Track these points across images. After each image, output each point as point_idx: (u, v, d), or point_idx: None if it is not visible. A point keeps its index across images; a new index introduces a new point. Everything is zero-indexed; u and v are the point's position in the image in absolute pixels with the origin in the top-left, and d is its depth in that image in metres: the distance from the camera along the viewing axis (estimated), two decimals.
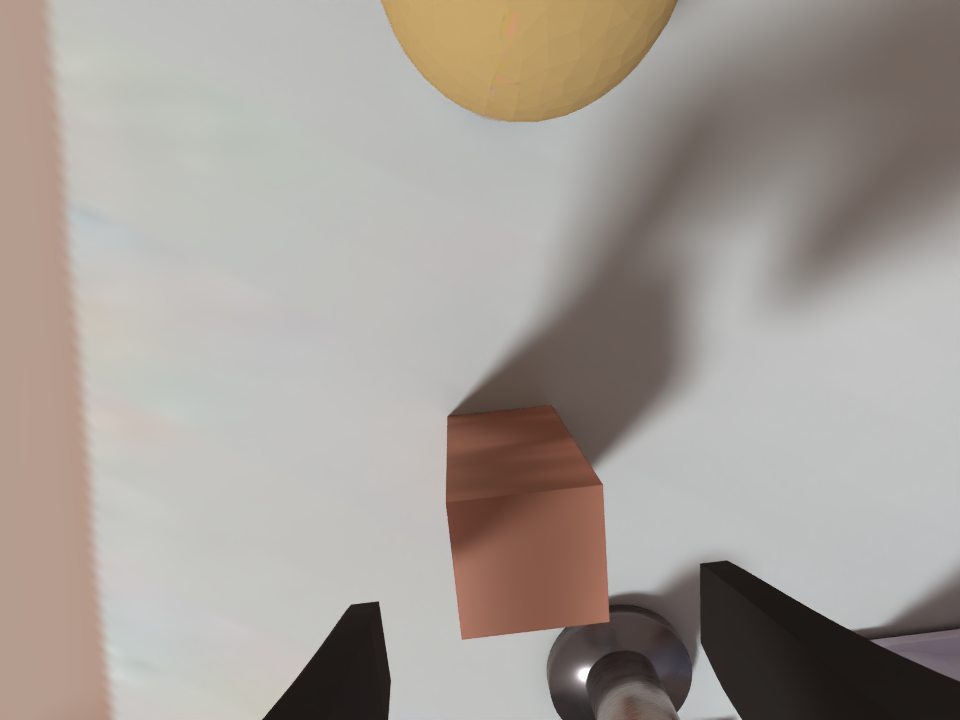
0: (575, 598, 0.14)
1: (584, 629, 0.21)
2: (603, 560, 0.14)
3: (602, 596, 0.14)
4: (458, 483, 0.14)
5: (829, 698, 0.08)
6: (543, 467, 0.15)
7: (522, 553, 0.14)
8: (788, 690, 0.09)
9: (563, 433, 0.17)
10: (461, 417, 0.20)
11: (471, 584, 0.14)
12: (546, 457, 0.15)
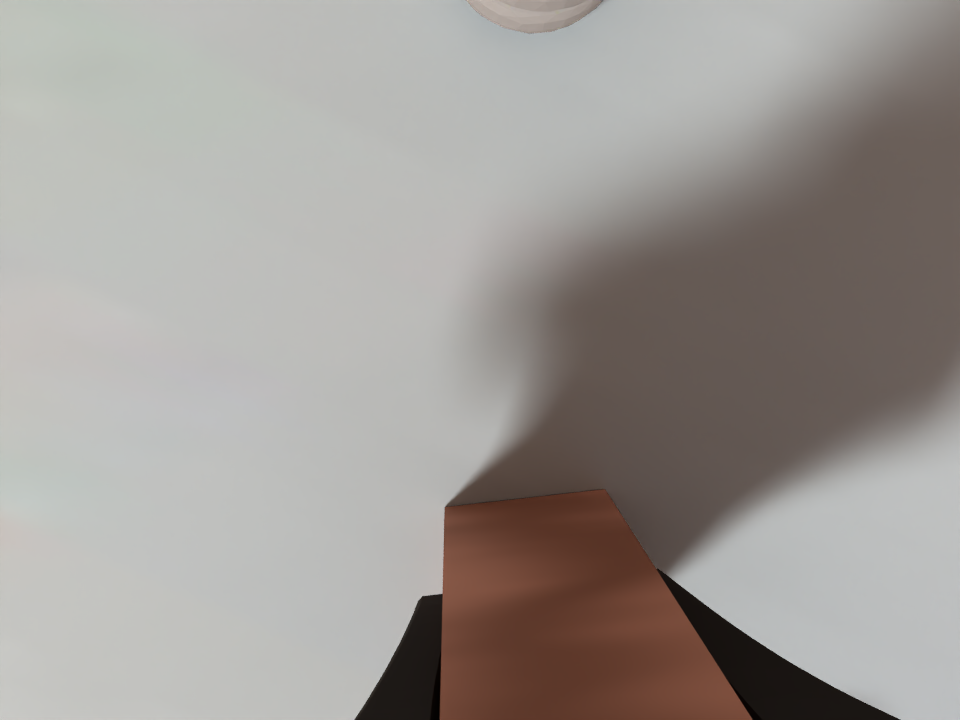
0: None
1: None
2: None
3: None
4: (464, 715, 0.07)
5: None
6: (626, 670, 0.08)
7: None
8: None
9: (641, 562, 0.10)
10: (466, 511, 0.13)
11: None
12: (626, 634, 0.08)
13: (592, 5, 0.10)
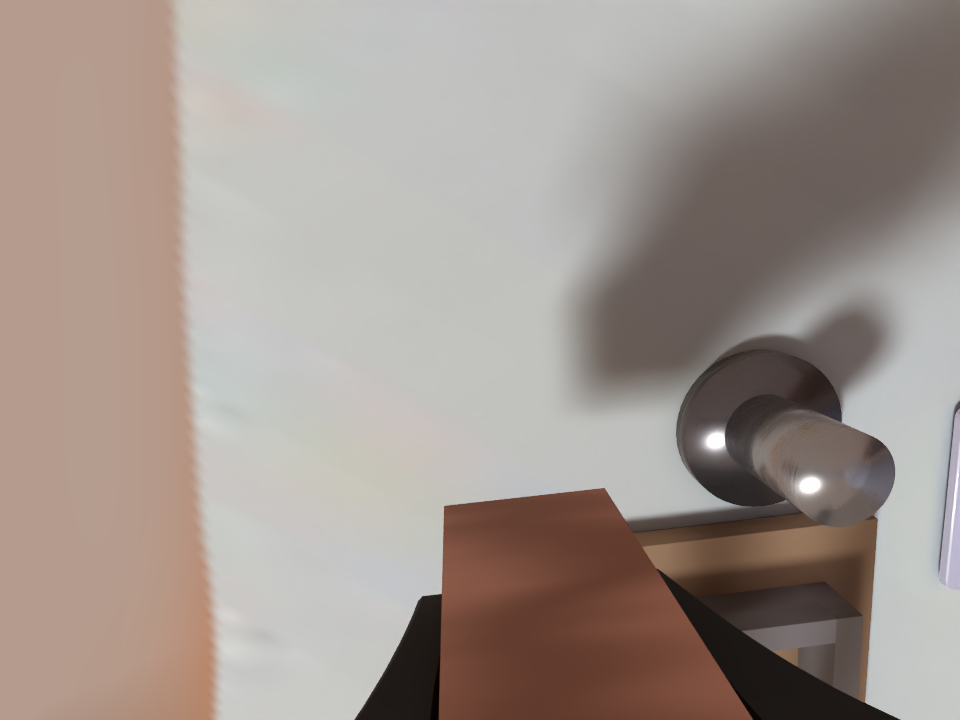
0: None
1: (726, 367, 0.19)
2: None
3: None
4: (463, 713, 0.07)
5: None
6: (625, 668, 0.08)
7: None
8: None
9: (640, 561, 0.10)
10: (465, 510, 0.13)
11: None
12: (626, 632, 0.08)
13: None
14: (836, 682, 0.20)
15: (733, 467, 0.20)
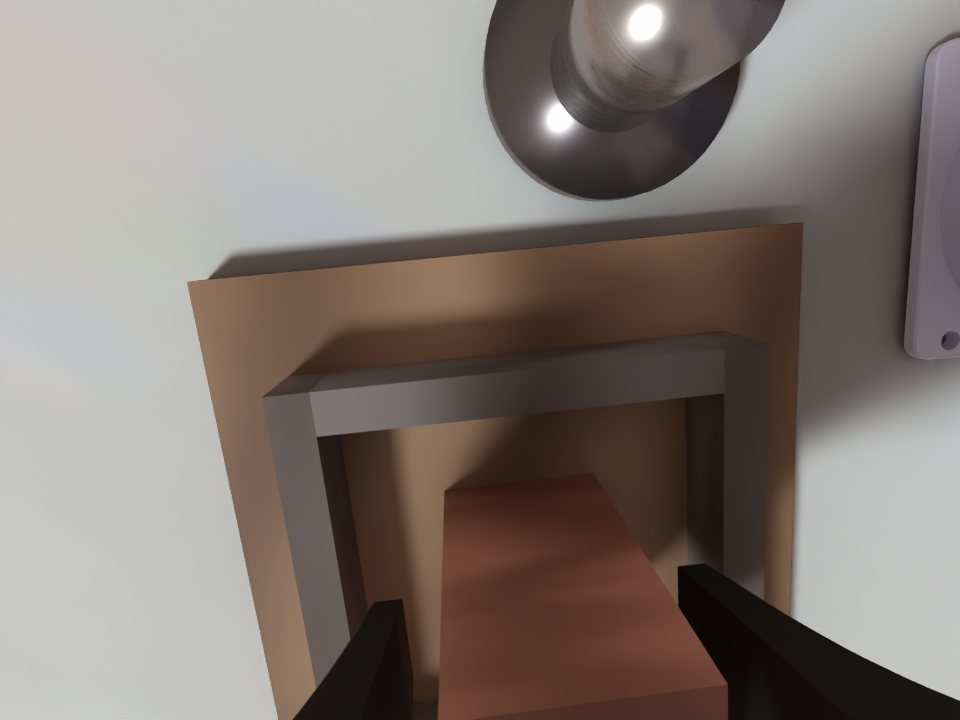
0: None
1: None
2: None
3: None
4: (461, 663, 0.08)
5: (796, 702, 0.08)
6: (604, 624, 0.09)
7: None
8: (758, 694, 0.09)
9: (623, 535, 0.11)
10: (463, 494, 0.14)
11: None
12: (607, 595, 0.09)
13: None
14: (729, 464, 0.12)
15: (567, 125, 0.12)
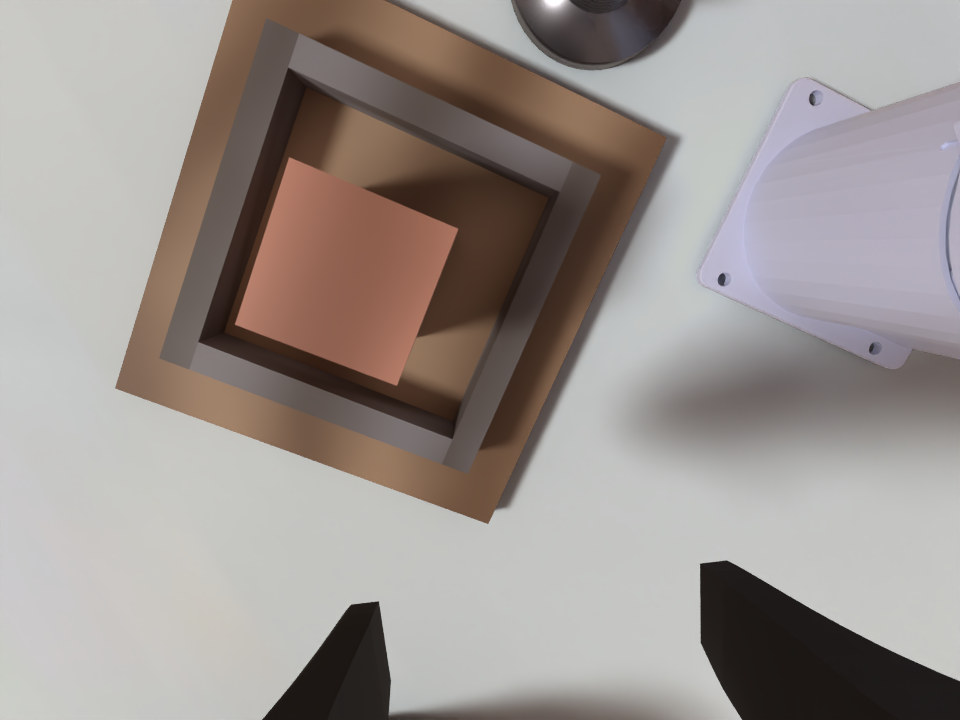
0: (374, 341, 0.13)
1: None
2: (421, 312, 0.12)
3: (402, 354, 0.13)
4: None
5: (829, 698, 0.08)
6: None
7: (343, 260, 0.12)
8: (787, 689, 0.09)
9: None
10: None
11: (273, 265, 0.12)
12: None
13: None
14: (541, 244, 0.17)
15: None
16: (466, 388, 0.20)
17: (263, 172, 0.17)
